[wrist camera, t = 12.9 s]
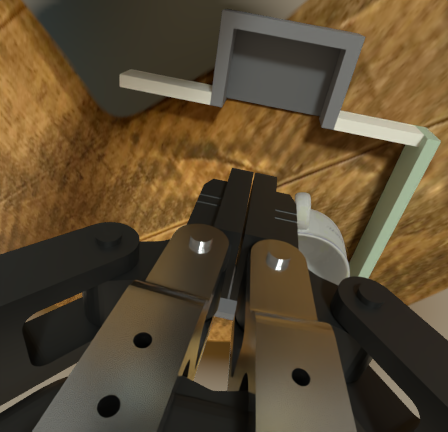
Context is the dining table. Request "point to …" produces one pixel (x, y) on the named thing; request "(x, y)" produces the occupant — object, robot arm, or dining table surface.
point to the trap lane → (303, 105)
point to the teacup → (320, 242)
